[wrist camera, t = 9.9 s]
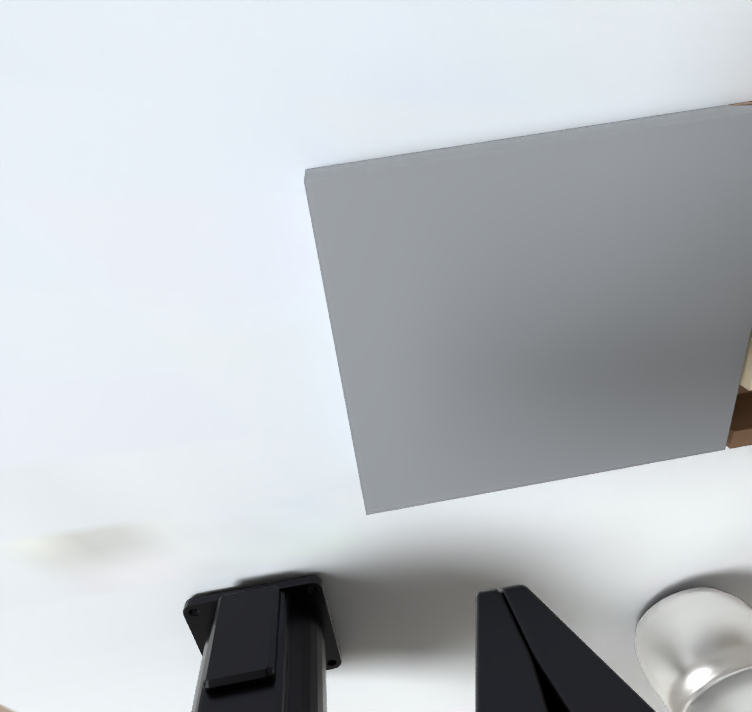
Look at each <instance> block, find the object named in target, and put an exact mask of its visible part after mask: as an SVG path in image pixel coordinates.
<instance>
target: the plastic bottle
mask: <svg viewBox="0 0 752 712" xmlns="http://www.w3.org/2000/svg"><path fill="white" fill-rule="evenodd" d="M635 651H636V654H637V657H638V660H639V662H640V664H641V667H642V669H643V672H644V674H645V676H646V679H647V681H648V682H649V684H650V685H651V687H652V688H653V689H654V691H655V692H656V693H657V695H658V696H659V697H660V699H661V700H662V701H663V703H664V704H665V705H666V707H667V708H668V709H669V711H670V712H752V609H751V608H750V607H749V606H748V605H746V604H745V603H744V602H743V601H742V600H741V599H739V598H737V597H735V596H733V595H730V594H728V593H725V592H722V591H720V590H717V589H713V588H704V587H700V588H691V589H687V590H683V591H680V592H677V593H674V594H672V595H670V596H668V597H666V598H664V599H662V600H660V601H659V602H657V603H656V604H654V605H653V606H652V607H651V608H650V609H648V610H647V612H646V613H645V614H644V615H643V616H642V617H641V619H640V621H639V622H638V625H637V627H636V635H635Z"/></svg>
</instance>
